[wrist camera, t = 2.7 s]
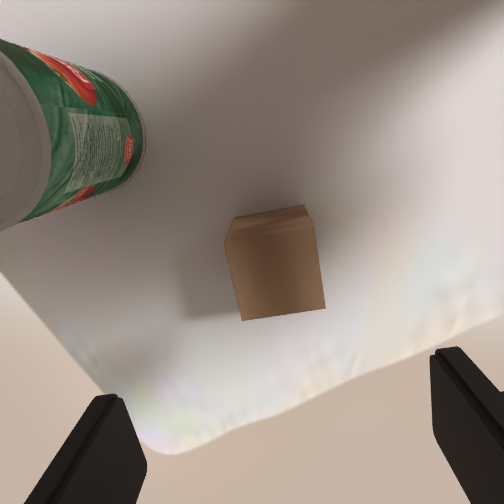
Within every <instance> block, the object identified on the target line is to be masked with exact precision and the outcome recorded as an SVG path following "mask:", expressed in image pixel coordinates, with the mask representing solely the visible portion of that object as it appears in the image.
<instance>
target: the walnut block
mask: <svg viewBox="0 0 504 504" xmlns="http://www.w3.org/2000/svg"><path fill="white" fill-rule="evenodd" d="M224 246H225V250H226V254H227V259H228V263H229V267H230V272H231V276H232V280H233V284H234V289H235V293H236V297H237V301H238V306H239V310H240V314H241V319H242V321H245V320H252V319H259V318H265V317H272V316H279V315H285V314H292V313H299V312H305V311H312V310H319V309H325V308H326V307H325V300H324V293H323V286H322V280H321V273H320V266H319V259H318V252H317V245H316V238H315V232H314V226H313V224H312V222H311V220H310V218H309V215H308V213H307V211H306V209H305V207H304V205H301V206H296V207H290V208H285V209H279V210H274V211H269V212H263V213H258V214H252V215H247V216H241V217H236V218H234V220H233V222H232V224H231V227H230V229H229V231H228V234H227V236H226V239H225V241H224Z"/></svg>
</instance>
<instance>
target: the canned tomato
mask: <svg viewBox="0 0 504 504" xmlns="http://www.w3.org/2000/svg"><path fill="white" fill-rule="evenodd" d="M145 143H146V136H145V127H144V123H143V120H142V117H141V114H140V112H139V110H138V108H137V106H136V104H135V102H134V101H133V99H132V98H131V97H130V95H129V94H128V92H127V91H125V90H124V89H123V88H122V87H121V86H120V85H119V84H118V83H117V82H115V81H114V80H112V79H111V78H109V77H108V76H106V75H104V74H101V73H99V72H97V71H94V70H89V69H86V68H83V67H81V66H77V65H75V64H71V63H68V62H66V61H62V60H60V59H57V58H53V57H51V56H48V55H45V54H42V53H39V52H37V51H33V50H30V49H28V48H25V47H21V46H19V45H16V44H13V43H9V42H6V41H4V40H2V39H0V231H2V230H4V229H6V228H8V227H11V226H13V225H15V224H17V223H20V222H23V221H27V220H30V219H32V218H34V217H38V216H41V215H43V214H45V213H49V212H52V211H54V210H58V209H60V208H62V207H66V206H68V205H70V204H74V203H76V202H79V201H82V200H84V199H88V198H90V197H93V196H96V195H98V194H101V193H104V192H106V191H111V190H114V189H116V188H118V187H120V186H122V185H123V184H125V183H126V182H127V181H129V180H130V179H131V178H132V176H133V175H134V174H135V173H136V172H137V170H138V168H139V166H140V164H141V162H142V159H143V156H144V152H145Z"/></svg>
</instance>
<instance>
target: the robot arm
mask: <svg viewBox="0 0 504 504" xmlns="http://www.w3.org/2000/svg"><path fill="white" fill-rule="evenodd" d="M430 380H431V401H432V423H433V424H432V425H433V432H434V436H435V438H436V441H437V443H438V445H439V447H440V448H441V450H442V452H443V454H444V456H445V457H446V459H447V461H448V463H449V464H450V466H451V468H452V470H453V472H454V474H455V476H456V477H457V479H458V481H459V483H460V485H461V486H462V488H463V490H464V491H465V494H466V495H467V497H468V499H469V501H470V503H471V504H504V391H503V392H500V391H499V390H498V389H497V388H496V387H495V386H494V385H493V384H492V382H491V381H490V380H489V379H488V378H487V377H486V376H485V375H484V374H483V372H481V370H480V369H479V368H478V367H477V366H476V365H475V364H474V363H473V361H472V360H471V359H470V358H469V357H468V356H467V355H466V354H465V353H464V352H463V350H462V349H461V348H459V347H457V346H456V347H449V348H441V349H437V350H436V351H435V355H431V356H430ZM146 473H147V461H146V458H145V456H144V453H143V450H142V448H141V445H140V443H139V440H138V437H137V435H136V432H135V430H134V427H133V424H132V422H131V419H130V416H129V414H128V411H127V409H126V406H125V403H124V401H123V399H122V398H118V396H117V395H116V394H107V395H100V396H96V397H95V398H94V399H93V400H92V402H91V403H90V404H89V406H88V407H87V409H86V411H85V412H84V413H83V415H82V417H81V418H80V420H79V421H78V423H77V424H76V426H75V427H74V429H73V430H72V432H71V433H70V435H69V436H68V438H67V439H66V441H65V442H64V444H63V445H62V447H61V448H60V450H59V451H58V453H57V454H56V456H55V457H54V459H53V461H52V462H51V463H50V465H49V466H48V468H47V470H46V471H45V472H44V474H43V475H42V477H41V479H40V480H39V482H38V483H37V485H36V486H35V488H34V489H33V491H32V492H31V494H30V495H29V497H28V498H27V500H26V501H25V503H24V504H136V501H137V498H138V495H139V493H140V490H141V487H142V485H143V482H144V479H145V476H146Z"/></svg>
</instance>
